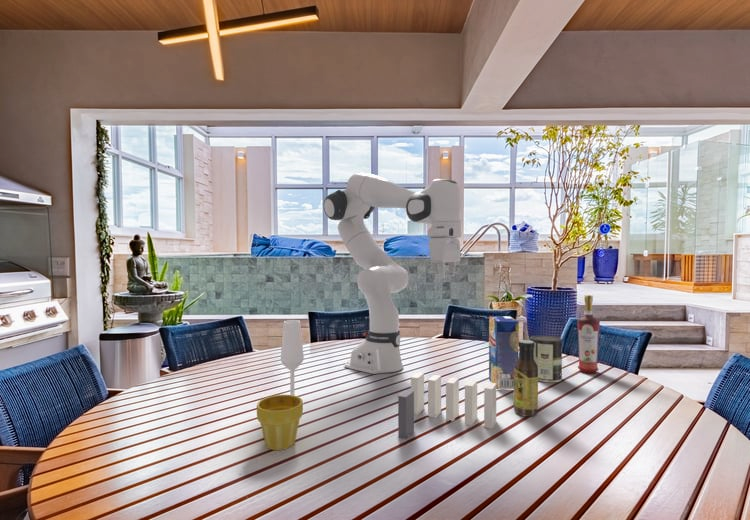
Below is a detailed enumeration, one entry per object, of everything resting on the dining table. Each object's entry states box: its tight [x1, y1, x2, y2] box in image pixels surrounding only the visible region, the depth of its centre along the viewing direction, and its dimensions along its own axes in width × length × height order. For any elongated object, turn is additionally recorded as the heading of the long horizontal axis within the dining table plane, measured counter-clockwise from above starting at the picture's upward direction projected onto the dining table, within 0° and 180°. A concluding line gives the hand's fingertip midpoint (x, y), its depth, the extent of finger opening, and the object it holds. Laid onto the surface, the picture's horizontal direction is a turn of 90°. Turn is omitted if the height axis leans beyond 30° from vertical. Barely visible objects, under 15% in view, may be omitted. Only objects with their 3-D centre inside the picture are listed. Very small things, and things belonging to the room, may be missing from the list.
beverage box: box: [488, 315, 520, 389], centre depth 138 cm, size 7×11×22 cm, turn 177°
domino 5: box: [464, 379, 478, 426], centre depth 109 cm, size 2×5×10 cm, turn 153°
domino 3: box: [427, 374, 442, 419], centre depth 114 cm, size 2×5×10 cm, turn 153°
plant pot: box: [256, 394, 304, 451], centre depth 96 cm, size 10×10×10 cm
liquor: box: [577, 294, 601, 375], centre depth 152 cm, size 7×7×28 cm
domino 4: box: [445, 376, 460, 422], centre depth 112 cm, size 2×5×10 cm, turn 153°
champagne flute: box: [280, 319, 305, 404], centre depth 122 cm, size 7×7×24 cm
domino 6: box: [483, 382, 497, 430], centre depth 107 cm, size 2×5×10 cm, turn 153°
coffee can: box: [530, 334, 563, 384], centre depth 145 cm, size 10×10×14 cm
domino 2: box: [410, 372, 425, 415], centre depth 116 cm, size 2×5×10 cm, turn 153°
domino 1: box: [397, 389, 415, 440], centre depth 101 cm, size 2×5×10 cm, turn 153°
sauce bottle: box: [513, 339, 539, 417], centre depth 114 cm, size 6×6×20 cm
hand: (446, 277), depth 127 cm, fingers open, 8 cm apart
